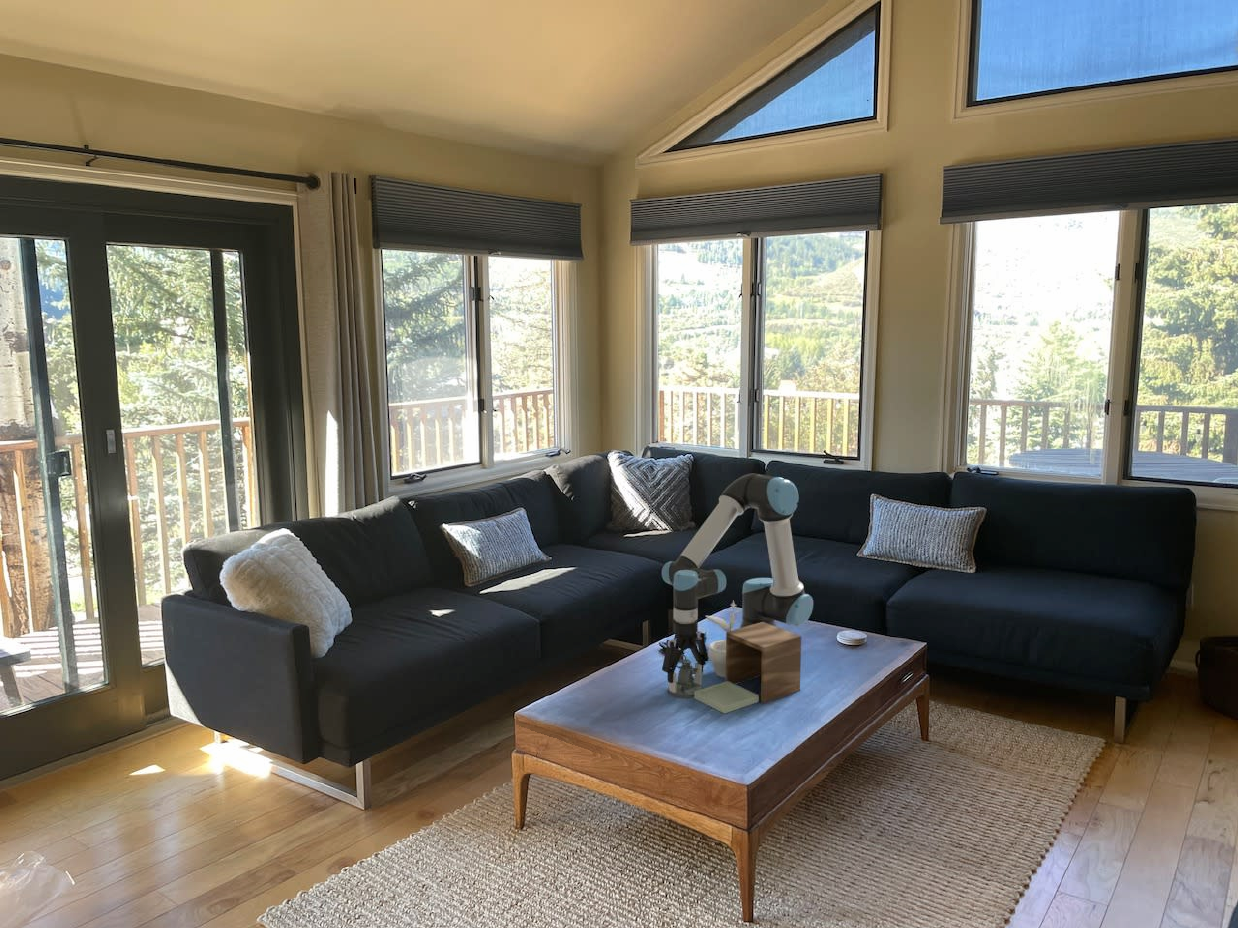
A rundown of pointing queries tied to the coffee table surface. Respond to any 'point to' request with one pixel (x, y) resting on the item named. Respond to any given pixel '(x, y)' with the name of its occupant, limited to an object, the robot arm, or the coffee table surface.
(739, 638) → the shelf
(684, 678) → the figurine
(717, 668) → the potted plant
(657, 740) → the coffee table surface
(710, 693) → the tray
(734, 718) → the coffee table surface
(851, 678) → the coffee table surface
